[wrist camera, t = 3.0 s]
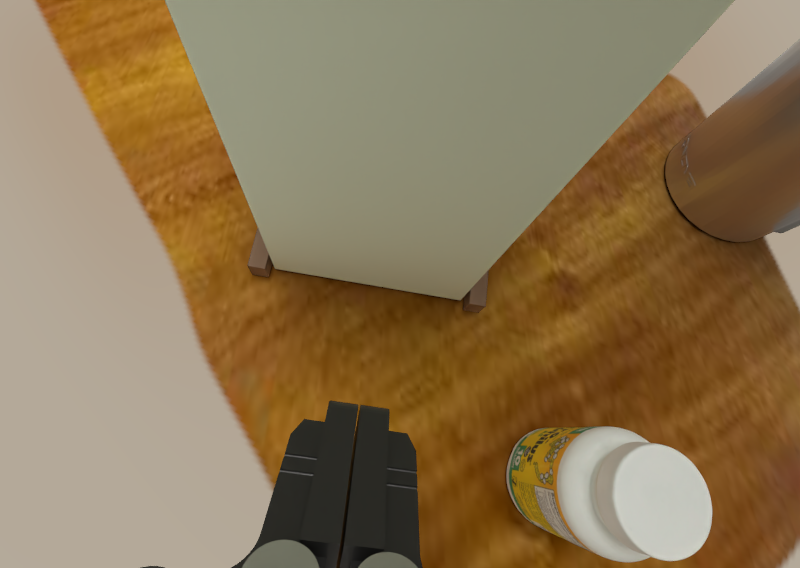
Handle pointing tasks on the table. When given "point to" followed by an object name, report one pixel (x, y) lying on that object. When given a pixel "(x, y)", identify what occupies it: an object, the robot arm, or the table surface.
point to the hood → (420, 119)
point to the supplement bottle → (611, 492)
